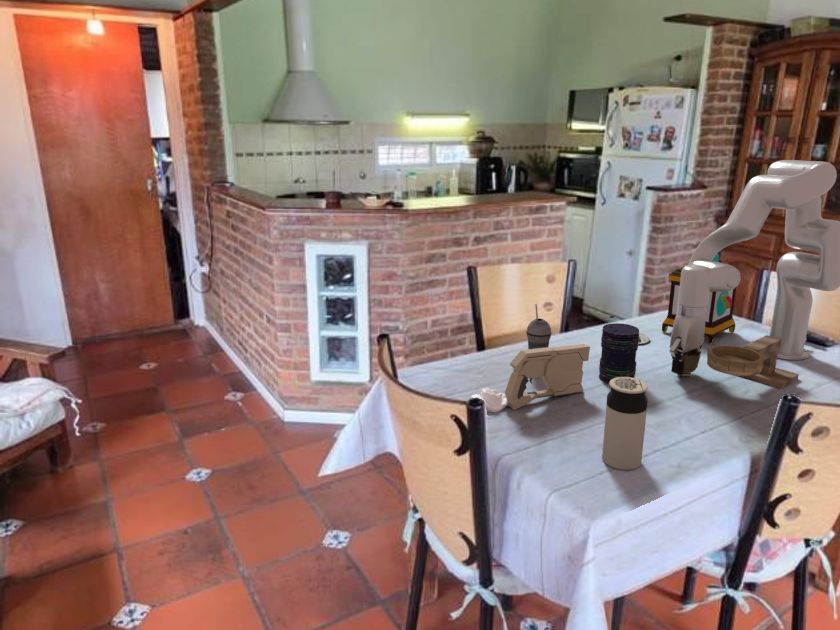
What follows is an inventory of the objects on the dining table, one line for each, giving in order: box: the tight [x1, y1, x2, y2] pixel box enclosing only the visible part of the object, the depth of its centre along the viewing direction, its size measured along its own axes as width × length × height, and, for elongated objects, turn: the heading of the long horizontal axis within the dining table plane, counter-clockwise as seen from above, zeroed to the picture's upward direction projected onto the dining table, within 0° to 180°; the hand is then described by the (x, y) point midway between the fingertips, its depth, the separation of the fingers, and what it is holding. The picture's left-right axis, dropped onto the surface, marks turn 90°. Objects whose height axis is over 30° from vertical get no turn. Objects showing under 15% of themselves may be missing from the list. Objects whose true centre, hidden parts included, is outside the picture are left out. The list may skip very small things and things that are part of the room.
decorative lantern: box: [661, 252, 742, 345], centre depth 197 cm, size 20×20×30 cm
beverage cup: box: [526, 303, 552, 350], centre depth 172 cm, size 7×7×20 cm
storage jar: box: [598, 315, 640, 385], centre depth 164 cm, size 10×10×18 cm
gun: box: [504, 343, 591, 410], centre depth 153 cm, size 24×3×15 cm, turn 116°
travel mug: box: [601, 377, 649, 471], centre depth 123 cm, size 8×8×18 cm
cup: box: [677, 347, 702, 379], centre depth 166 cm, size 8×7×8 cm
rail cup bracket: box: [706, 334, 799, 389], centre depth 159 cm, size 30×14×12 cm, turn 127°
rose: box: [470, 387, 509, 413], centre depth 153 cm, size 10×4×10 cm
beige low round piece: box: [638, 332, 651, 345], centre depth 197 cm, size 12×12×5 cm
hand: (684, 369), depth 167 cm, fingers closed on cup, 6 cm apart
